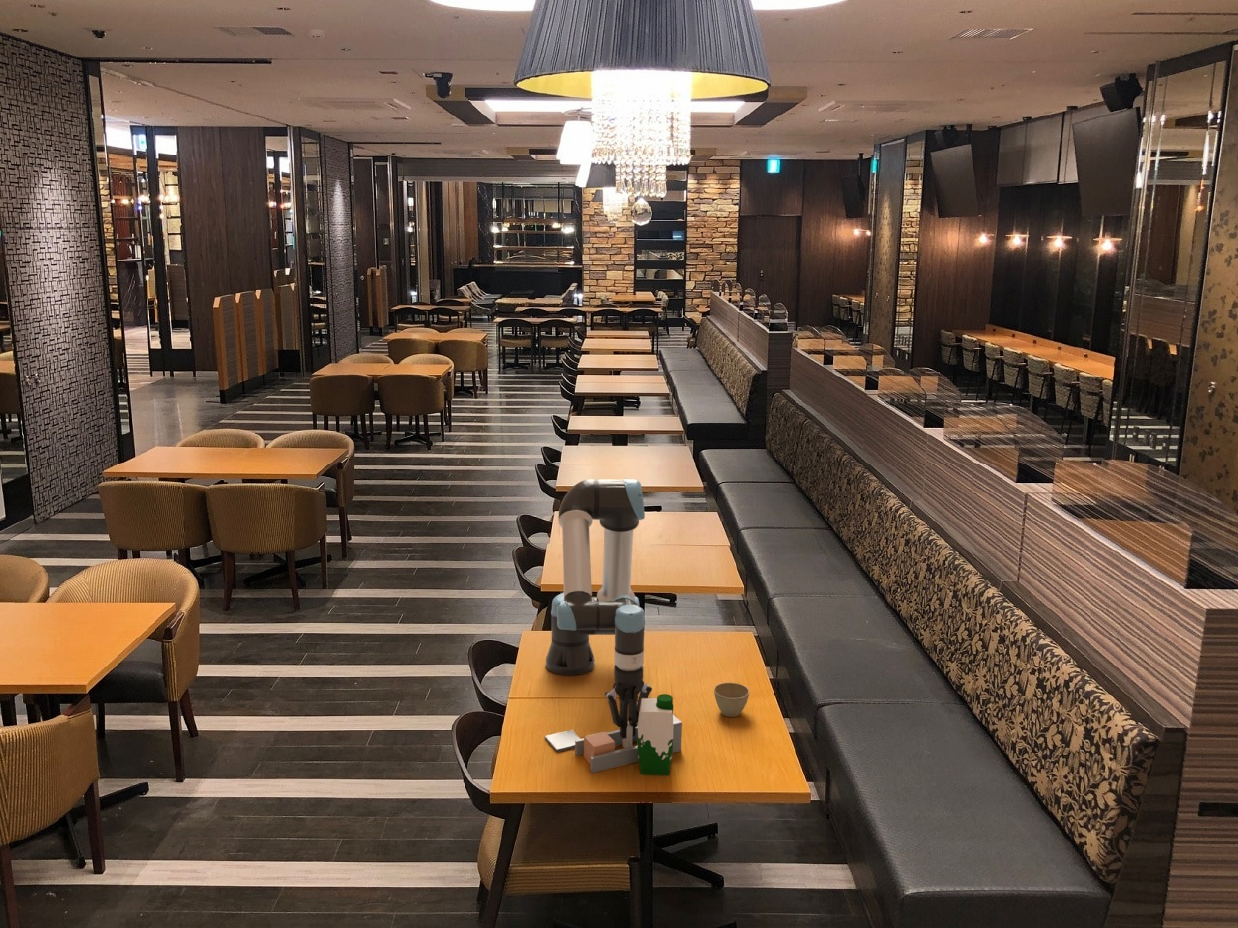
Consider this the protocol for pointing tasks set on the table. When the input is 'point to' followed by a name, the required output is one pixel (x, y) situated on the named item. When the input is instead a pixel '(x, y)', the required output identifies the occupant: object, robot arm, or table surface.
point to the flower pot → (731, 698)
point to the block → (597, 745)
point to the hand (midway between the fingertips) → (627, 747)
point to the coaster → (562, 740)
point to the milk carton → (655, 735)
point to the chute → (626, 754)
